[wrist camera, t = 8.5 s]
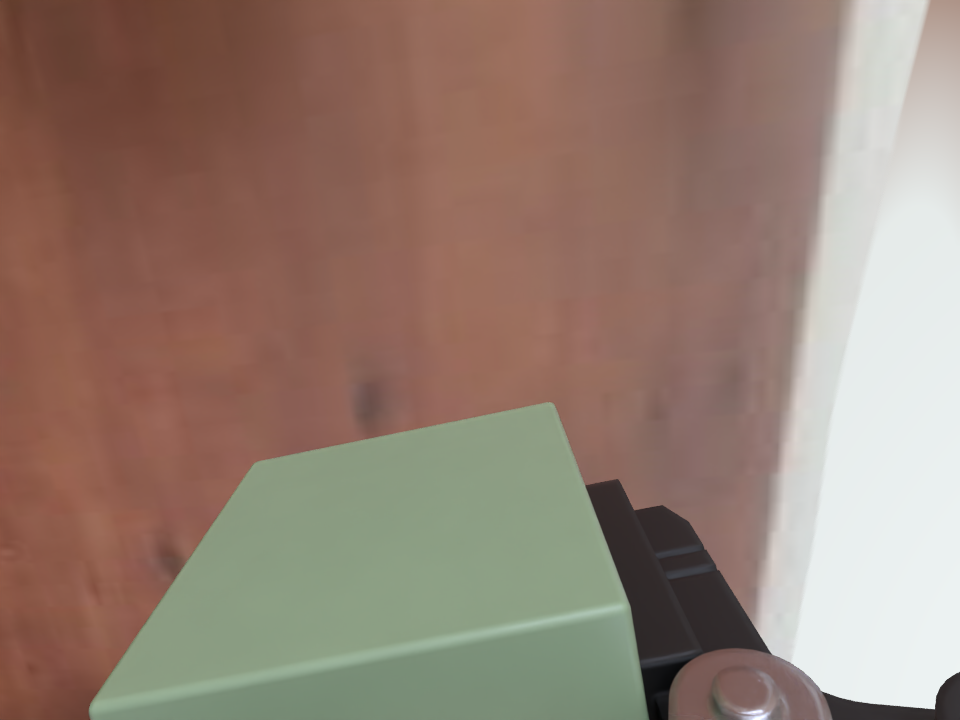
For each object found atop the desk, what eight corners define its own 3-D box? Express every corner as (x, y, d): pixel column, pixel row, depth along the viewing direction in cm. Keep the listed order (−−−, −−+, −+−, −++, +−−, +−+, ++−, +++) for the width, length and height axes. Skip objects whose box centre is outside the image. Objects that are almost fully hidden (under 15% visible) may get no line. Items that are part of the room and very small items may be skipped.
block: (335, 697, 11) (252, 1051, 7) (252, 460, 9) (79, 710, 5) (600, 648, 11) (693, 979, 6) (553, 398, 9) (631, 605, 5)
